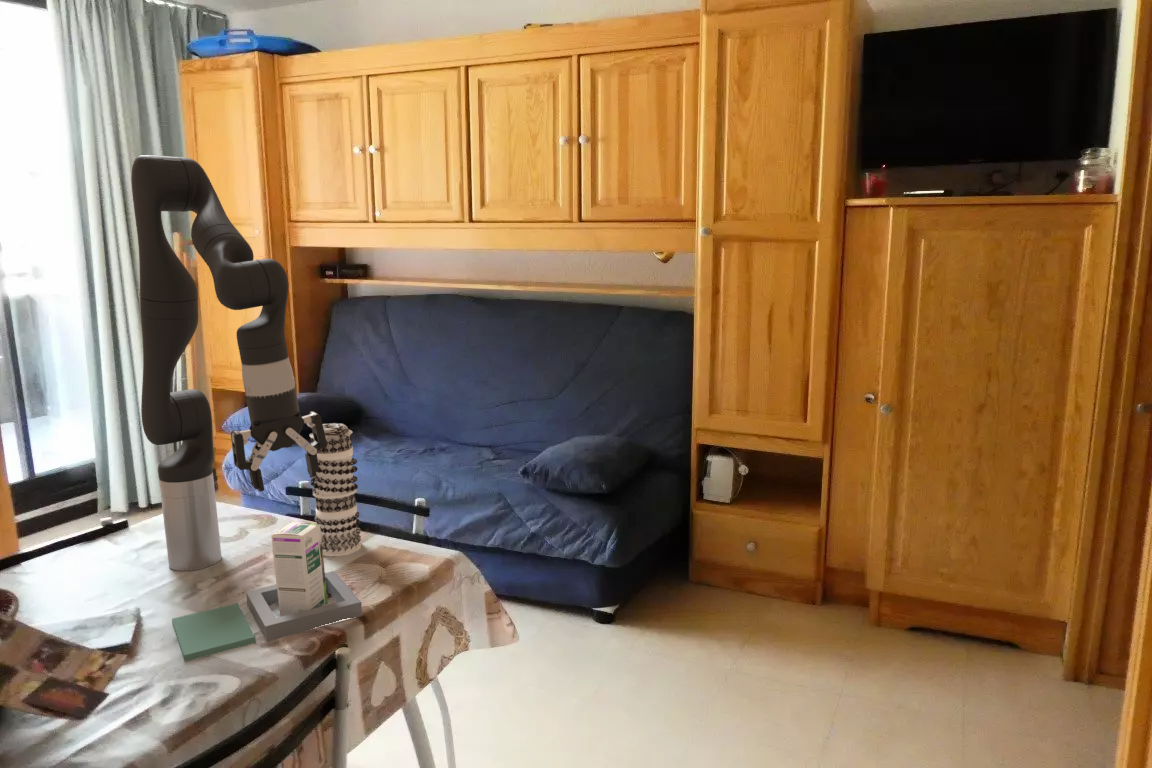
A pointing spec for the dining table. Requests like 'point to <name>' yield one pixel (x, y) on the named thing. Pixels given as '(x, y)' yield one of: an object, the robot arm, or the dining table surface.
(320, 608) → the pocket board
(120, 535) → the dining table surface
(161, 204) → the robot arm
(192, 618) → the pad
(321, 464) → the decorative candle
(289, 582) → the syrup box
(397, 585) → the dining table surface
